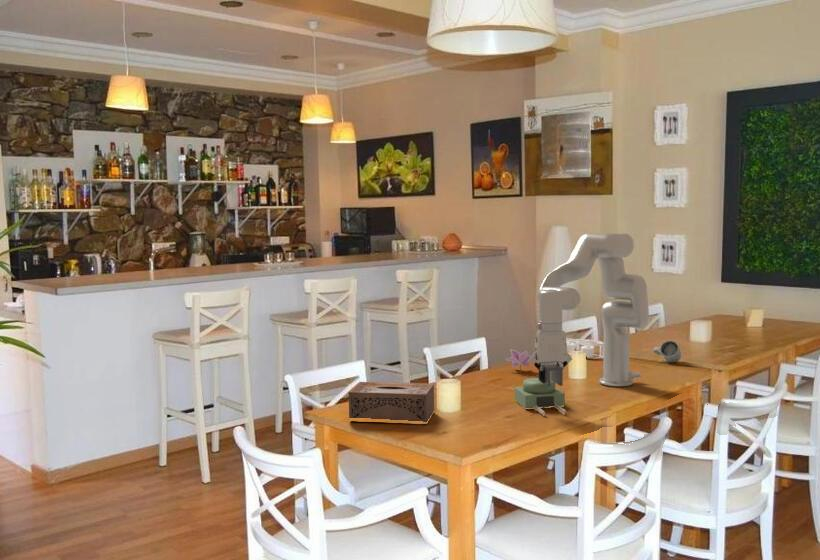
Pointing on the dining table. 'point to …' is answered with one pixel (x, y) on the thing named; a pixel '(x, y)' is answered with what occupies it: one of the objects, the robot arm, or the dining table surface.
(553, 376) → the chute
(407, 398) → the tissue box cover
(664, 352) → the ceramic mug
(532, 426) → the dining table surface
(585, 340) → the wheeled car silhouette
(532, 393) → the mower deck
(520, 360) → the lily
